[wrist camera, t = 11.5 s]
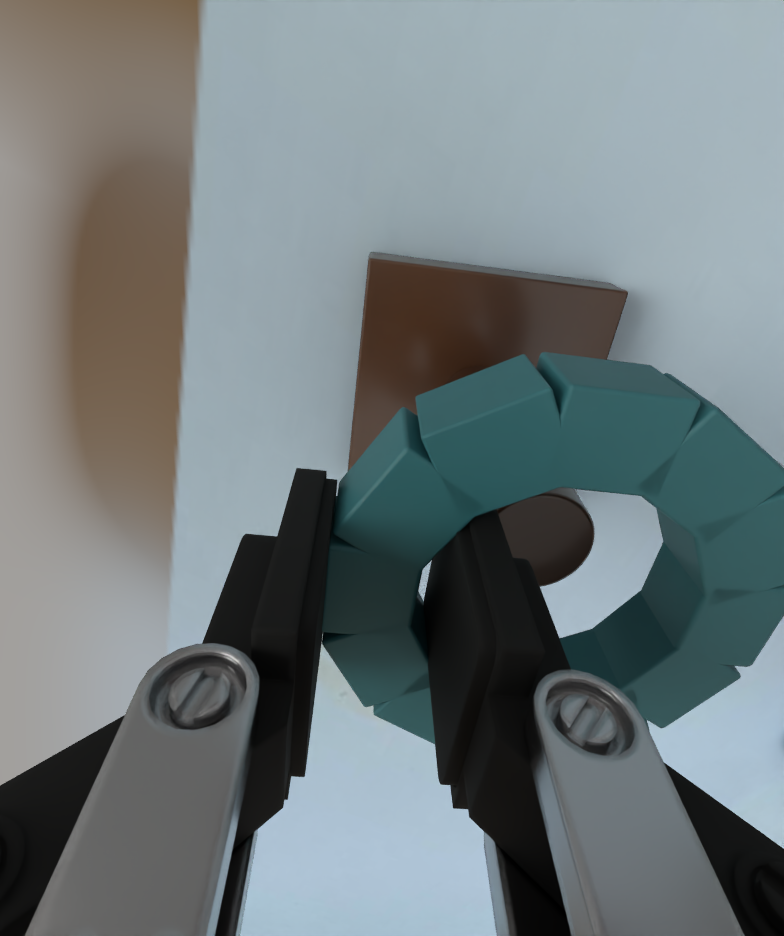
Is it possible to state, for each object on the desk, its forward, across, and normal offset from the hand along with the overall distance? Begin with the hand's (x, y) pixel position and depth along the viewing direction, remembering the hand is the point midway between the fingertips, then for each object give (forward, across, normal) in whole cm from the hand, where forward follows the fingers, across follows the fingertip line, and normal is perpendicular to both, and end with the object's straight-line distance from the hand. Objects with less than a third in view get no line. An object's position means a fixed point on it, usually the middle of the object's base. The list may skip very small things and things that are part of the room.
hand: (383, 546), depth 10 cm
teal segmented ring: (0, -3, 0) cm, 3 cm away
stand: (+10, -3, 0) cm, 11 cm away
